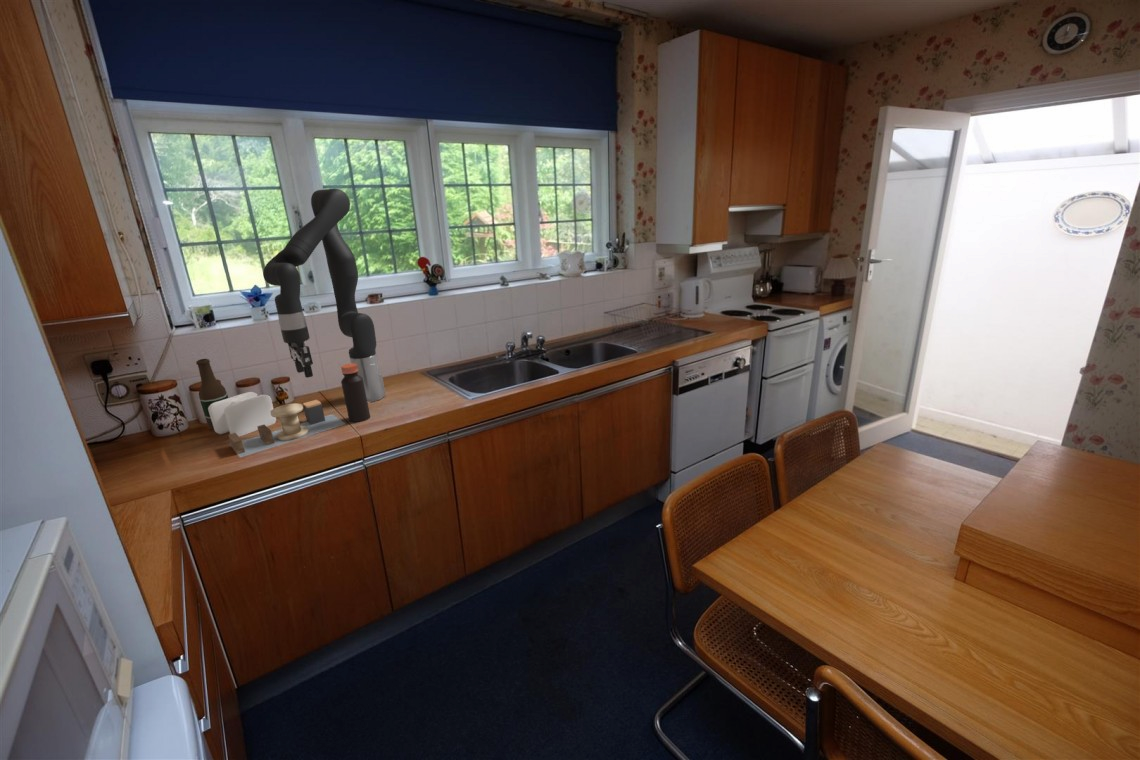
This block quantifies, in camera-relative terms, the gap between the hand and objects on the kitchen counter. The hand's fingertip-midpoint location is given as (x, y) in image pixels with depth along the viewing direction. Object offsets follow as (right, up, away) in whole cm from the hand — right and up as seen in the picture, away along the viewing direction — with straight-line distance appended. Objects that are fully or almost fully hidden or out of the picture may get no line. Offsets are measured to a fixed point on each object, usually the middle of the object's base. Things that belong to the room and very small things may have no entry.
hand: (305, 374), depth 164 cm
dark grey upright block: (+1, -16, +5) cm, 17 cm away
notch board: (-11, -22, -10) cm, 26 cm away
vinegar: (+16, -16, +6) cm, 23 cm away
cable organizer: (-21, -19, +3) cm, 29 cm away
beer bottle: (-33, -18, +8) cm, 38 cm away
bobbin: (-1, -19, -5) cm, 20 cm away
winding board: (-3, -20, -4) cm, 21 cm away
